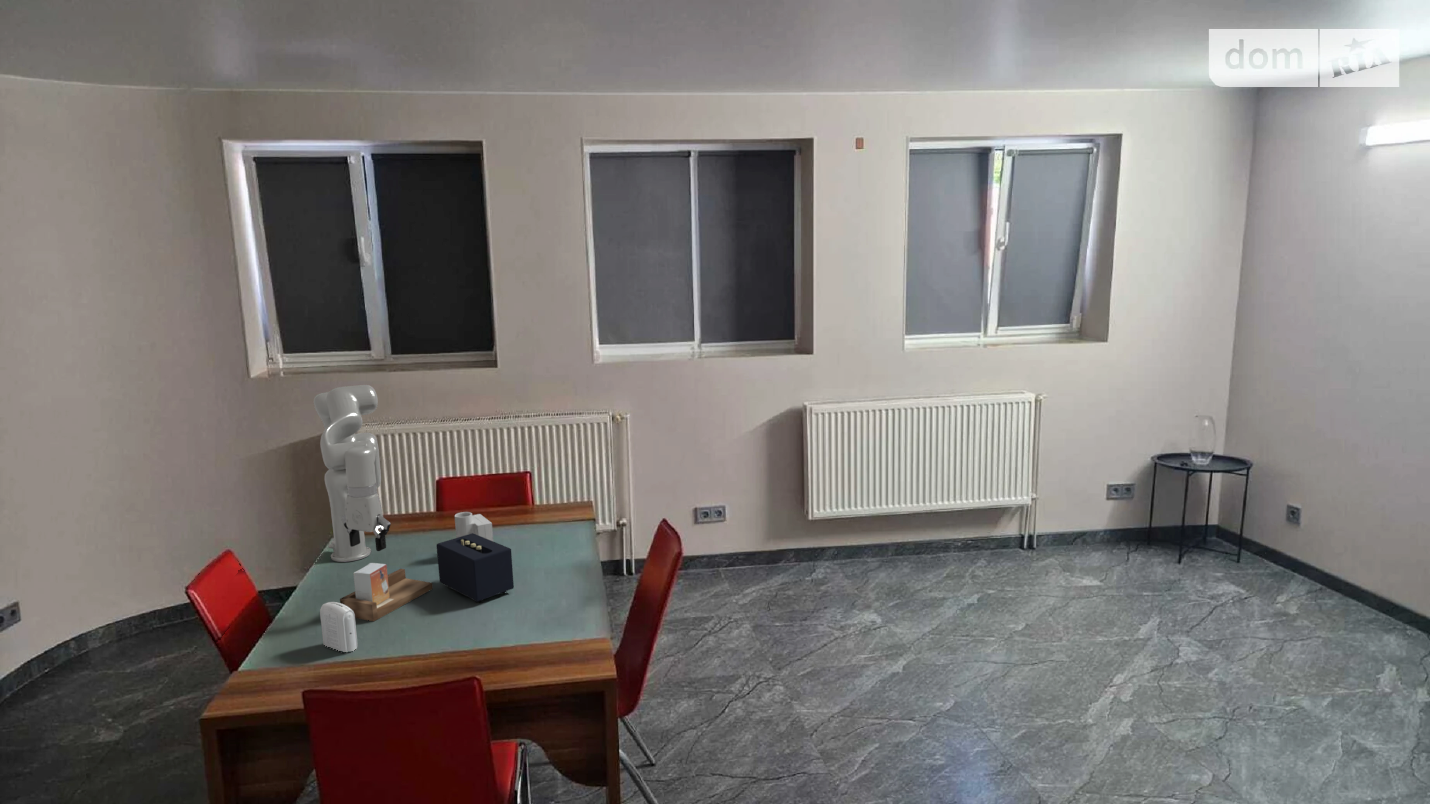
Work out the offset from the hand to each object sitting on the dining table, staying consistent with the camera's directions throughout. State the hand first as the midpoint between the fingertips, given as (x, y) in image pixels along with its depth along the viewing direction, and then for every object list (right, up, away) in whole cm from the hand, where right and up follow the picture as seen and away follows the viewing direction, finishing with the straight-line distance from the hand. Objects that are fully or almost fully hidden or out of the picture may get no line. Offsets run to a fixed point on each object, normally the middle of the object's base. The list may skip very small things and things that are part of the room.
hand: (368, 547), depth 238 cm
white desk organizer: (+16, -11, +43) cm, 47 cm away
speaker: (+27, -16, +15) cm, 35 cm away
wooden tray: (+3, -18, +8) cm, 20 cm away
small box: (0, -17, +3) cm, 17 cm away
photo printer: (+1, -23, -20) cm, 30 cm away
